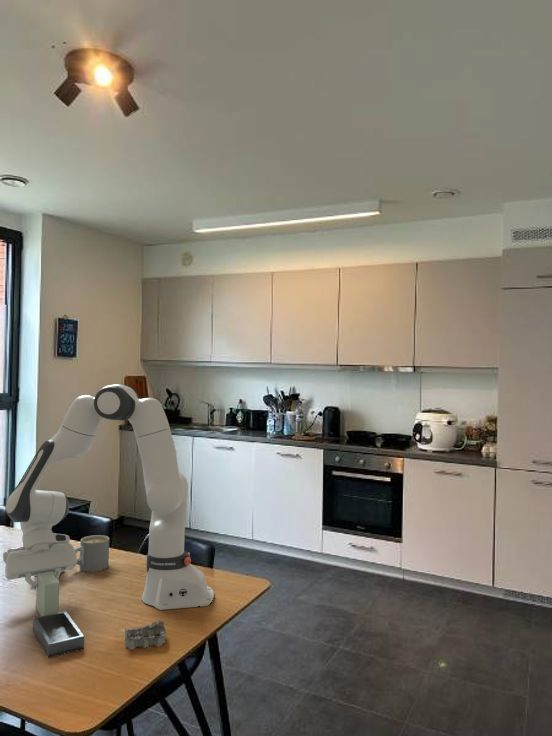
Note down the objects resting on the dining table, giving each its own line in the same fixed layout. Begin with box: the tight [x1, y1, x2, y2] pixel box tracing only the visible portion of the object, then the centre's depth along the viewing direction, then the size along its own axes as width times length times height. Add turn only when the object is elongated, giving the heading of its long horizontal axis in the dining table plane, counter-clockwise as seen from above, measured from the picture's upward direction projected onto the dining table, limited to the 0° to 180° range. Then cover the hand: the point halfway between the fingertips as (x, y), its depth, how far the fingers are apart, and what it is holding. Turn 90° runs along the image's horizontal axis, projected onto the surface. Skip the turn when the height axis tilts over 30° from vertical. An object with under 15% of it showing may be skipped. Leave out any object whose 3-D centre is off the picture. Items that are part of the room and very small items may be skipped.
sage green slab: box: [35, 572, 60, 616], centre depth 162 cm, size 4×10×10 cm, turn 35°
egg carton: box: [124, 620, 167, 650], centre depth 146 cm, size 11×8×4 cm
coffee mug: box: [74, 534, 110, 573], centre depth 200 cm, size 13×10×10 cm
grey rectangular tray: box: [32, 610, 85, 659], centre depth 146 cm, size 9×18×3 cm, turn 35°
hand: (45, 586), depth 165 cm, fingers open, 5 cm apart
